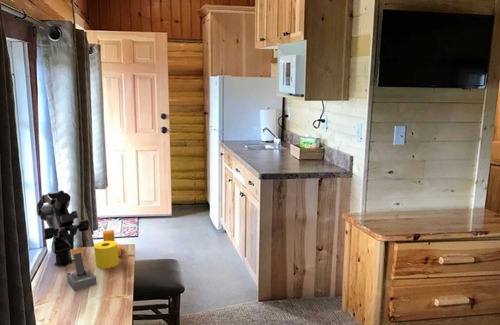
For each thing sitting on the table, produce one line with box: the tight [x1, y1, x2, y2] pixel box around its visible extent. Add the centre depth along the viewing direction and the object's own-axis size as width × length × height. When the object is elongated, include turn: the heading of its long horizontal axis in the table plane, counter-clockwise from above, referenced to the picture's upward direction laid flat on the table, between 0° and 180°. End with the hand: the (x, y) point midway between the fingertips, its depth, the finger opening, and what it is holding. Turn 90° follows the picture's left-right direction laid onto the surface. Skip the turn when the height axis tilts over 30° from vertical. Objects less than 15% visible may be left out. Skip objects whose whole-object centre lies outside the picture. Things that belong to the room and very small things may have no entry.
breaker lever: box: [70, 247, 85, 277], centre depth 188 cm, size 2×4×11 cm, turn 125°
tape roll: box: [93, 240, 120, 270], centre depth 206 cm, size 10×10×9 cm
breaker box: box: [66, 268, 98, 292], centre depth 188 cm, size 10×9×5 cm
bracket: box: [102, 229, 122, 257], centre depth 218 cm, size 11×7×12 cm, turn 14°
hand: (72, 246), depth 193 cm, fingers closed
